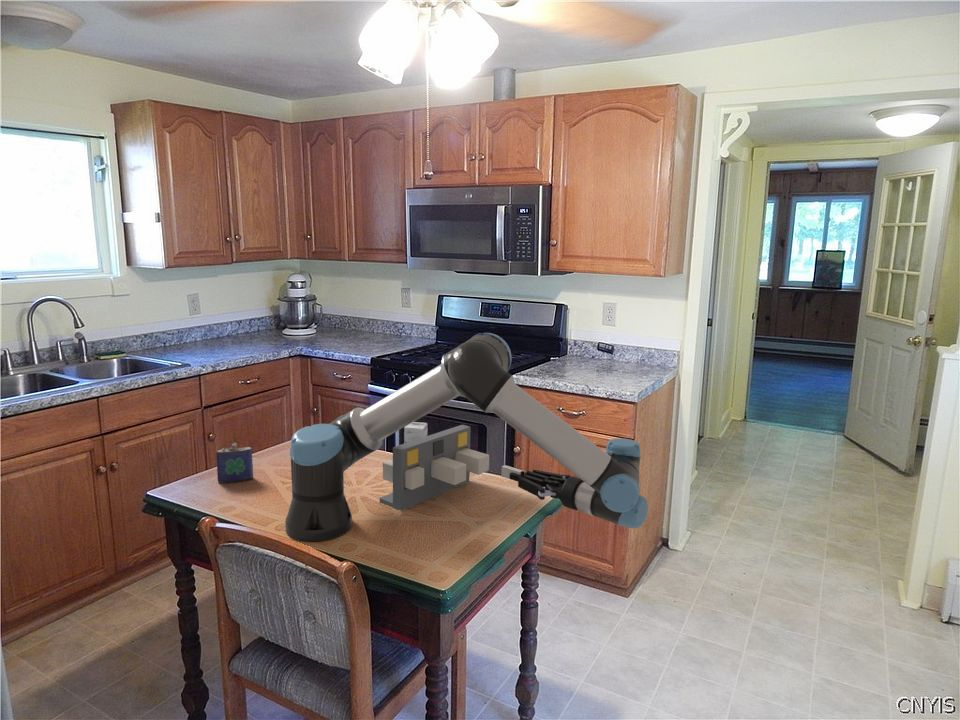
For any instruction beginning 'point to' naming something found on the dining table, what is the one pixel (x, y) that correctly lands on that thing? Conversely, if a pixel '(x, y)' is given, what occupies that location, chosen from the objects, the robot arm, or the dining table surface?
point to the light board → (425, 466)
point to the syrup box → (414, 431)
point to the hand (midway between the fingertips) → (503, 470)
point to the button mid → (448, 470)
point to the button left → (405, 475)
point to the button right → (473, 460)
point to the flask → (234, 464)
